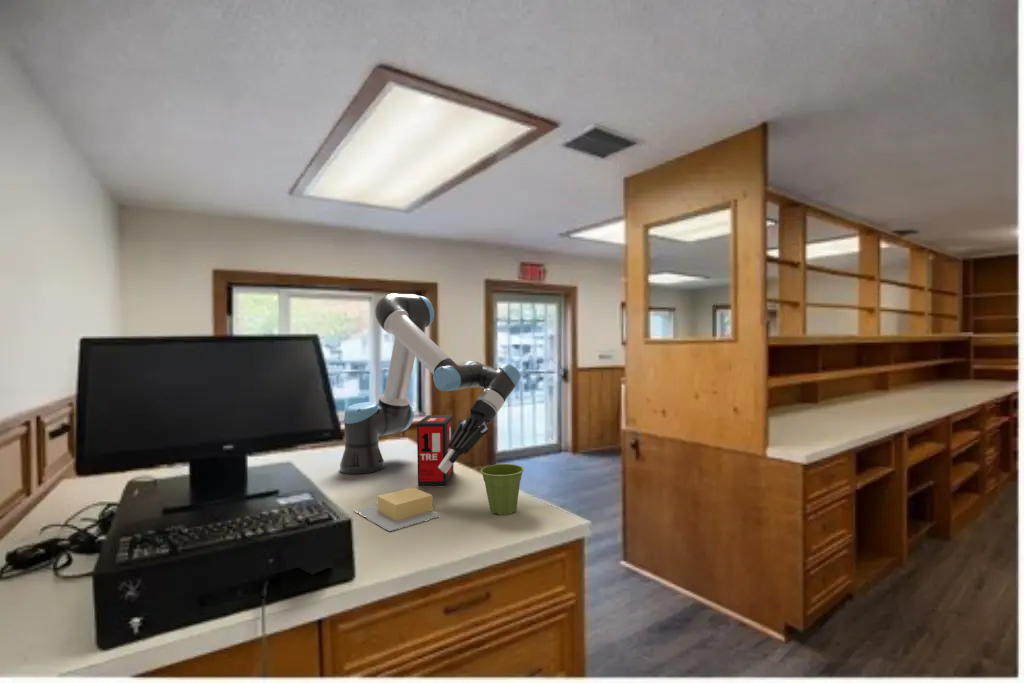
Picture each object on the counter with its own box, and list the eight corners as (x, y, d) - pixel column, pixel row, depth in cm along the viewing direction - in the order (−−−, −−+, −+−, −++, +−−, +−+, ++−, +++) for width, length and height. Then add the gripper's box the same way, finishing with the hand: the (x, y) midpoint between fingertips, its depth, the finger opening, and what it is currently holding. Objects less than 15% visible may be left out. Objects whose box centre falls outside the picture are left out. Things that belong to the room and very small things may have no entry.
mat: (353, 511, 134) (353, 510, 134) (402, 498, 145) (402, 497, 145) (389, 532, 120) (389, 531, 120) (441, 516, 130) (441, 515, 130)
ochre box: (413, 501, 141) (377, 510, 134) (413, 487, 141) (377, 496, 134) (432, 510, 134) (396, 520, 126) (432, 495, 134) (395, 505, 126)
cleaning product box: (428, 472, 173) (427, 415, 173) (453, 472, 172) (452, 415, 172) (417, 486, 156) (416, 423, 156) (445, 486, 156) (444, 423, 156)
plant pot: (507, 500, 142) (507, 461, 142) (533, 512, 132) (532, 470, 132) (472, 509, 135) (472, 468, 135) (496, 522, 125) (496, 477, 125)
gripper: (467, 397, 156) (421, 458, 145) (493, 400, 146) (446, 467, 135) (480, 412, 160) (437, 473, 149) (507, 416, 150) (462, 482, 139)
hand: (441, 470), depth 142 cm, fingers closed
